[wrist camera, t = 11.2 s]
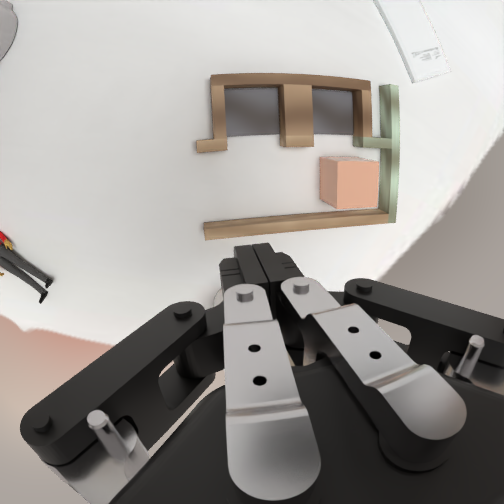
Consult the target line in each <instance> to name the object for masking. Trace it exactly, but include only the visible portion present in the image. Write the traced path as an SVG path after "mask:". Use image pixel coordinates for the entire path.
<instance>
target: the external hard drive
mask: <svg viewBox="0 0 504 504" xmlns="http://www.w3.org/2000/svg"><path fill="white" fill-rule="evenodd" d="M373 2H374V3H375V5H376V7H377V9H378V11H379V12H380V14H381V16H382V18H383V20H384V22H385V24H386V26H387V28H388V30H389V32H390V34H391V36H392V38H393V40H394V42H395V44H396V46H397V48H398V51H399V53H400V55H401V57H402V60H403V62H404V64H405V67H406V69H407V71H408V74H409V76H410V79H411V81H412V83H415V82H419V81H422V80H425V79H428V78H431V77H434V76H438V75H441V74H444V73H448V72H451V70H450V67H449V64H448V62H447V59H446V56H445V54H444V51H443V49H442V46H441V44H440V42H439V39H438V37H437V35H436V32H435V30H434V28H433V26H432V24H431V21H430V19H429V17H428V15H427V13H426V11H425V9H424V7H423V5H422V3H421V2H420V0H373Z"/></svg>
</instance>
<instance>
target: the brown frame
mask: <svg viewBox="0 0 504 504" xmlns="http://www.w3.org/2000/svg"><path fill="white" fill-rule="evenodd" d="M210 84H211V103H212V121H213V138H214V139H208V140H197V141H196V143H197V153H201V152H211V151H224V150H227V137H230V136H246V135H270V134H280V146H282V147H314V134H340V135H353V146H357V147H364V148H381V163H380V191H379V208H378V209H366V210H350V211H335V212H321V213H307V214H294V215H282V216H270V217H259V218H248V219H237V220H227V221H217V222H207V223H204V234H205V240H213V239H223V238H233V237H243V236H253V235H263V234H273V233H283V232H294V231H305V230H316V229H327V228H338V227H349V226H361V225H373V224H385V223H396V211H397V199H398V182H399V156H400V115H399V89H398V86H397V85H392V84H389V85H383V86H379V91H380V118H381V138H377V137H372V105H371V84H370V81H367V80H360V79H352V78H343V77H333V76H322V75H307V74H285V73H239V74H217V75H211V78H210ZM230 88H262V89H230ZM277 88H278V89H277ZM224 89H229V90H224ZM312 89H326V90H312ZM328 90H339V91H328ZM340 91H349V92H340ZM351 92H352V93H351ZM278 105H279V109H278ZM279 127H280V132H279Z"/></svg>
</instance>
